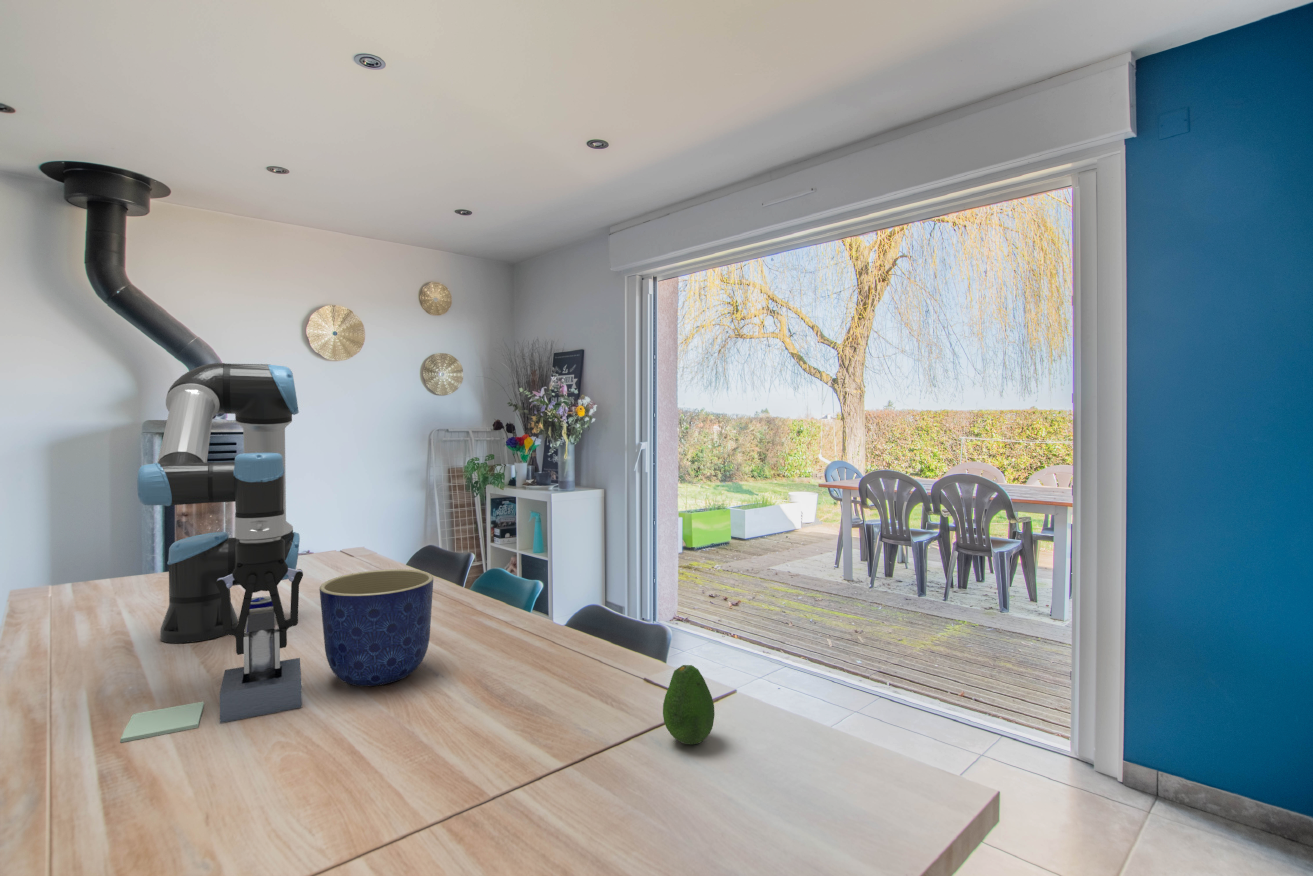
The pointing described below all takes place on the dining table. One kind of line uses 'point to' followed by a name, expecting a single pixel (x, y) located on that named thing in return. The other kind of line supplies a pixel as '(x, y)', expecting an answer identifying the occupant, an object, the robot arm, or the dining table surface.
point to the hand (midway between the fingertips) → (262, 668)
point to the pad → (163, 721)
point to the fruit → (688, 706)
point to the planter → (376, 624)
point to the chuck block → (260, 692)
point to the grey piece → (261, 643)
